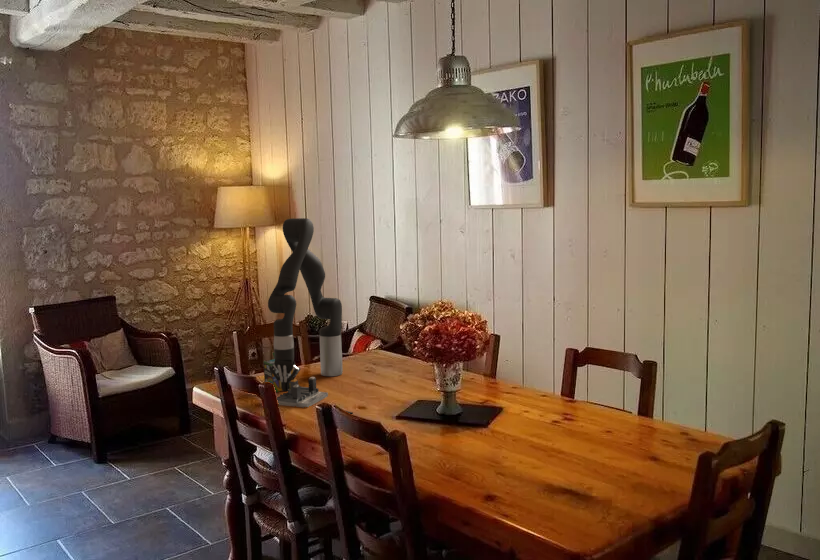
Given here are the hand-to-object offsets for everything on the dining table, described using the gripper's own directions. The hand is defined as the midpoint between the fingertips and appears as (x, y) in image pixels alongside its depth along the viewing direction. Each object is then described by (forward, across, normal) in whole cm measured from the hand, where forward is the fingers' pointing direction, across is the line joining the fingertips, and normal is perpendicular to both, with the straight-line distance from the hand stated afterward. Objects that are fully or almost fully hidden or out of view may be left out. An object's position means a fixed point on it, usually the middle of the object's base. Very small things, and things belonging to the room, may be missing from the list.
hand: (285, 391), depth 285 cm
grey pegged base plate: (+3, -6, 0) cm, 7 cm away
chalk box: (+3, +10, -11) cm, 16 cm away
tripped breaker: (+1, -4, 0) cm, 4 cm away
